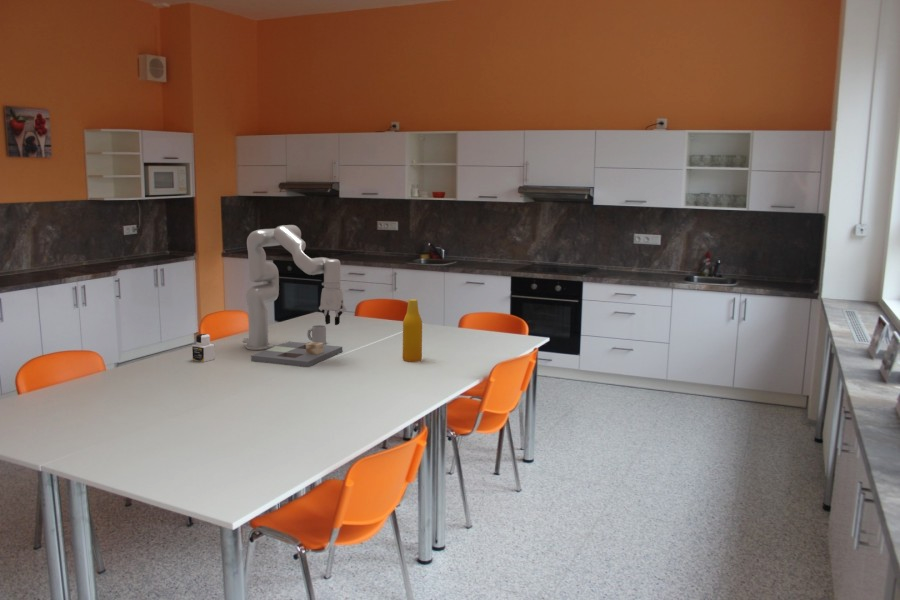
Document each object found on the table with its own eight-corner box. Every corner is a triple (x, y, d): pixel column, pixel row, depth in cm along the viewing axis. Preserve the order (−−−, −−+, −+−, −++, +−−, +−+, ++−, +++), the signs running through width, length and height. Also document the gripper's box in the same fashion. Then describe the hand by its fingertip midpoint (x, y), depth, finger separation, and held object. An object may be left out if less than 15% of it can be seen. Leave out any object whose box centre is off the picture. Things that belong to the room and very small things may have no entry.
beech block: (306, 353, 365) (305, 344, 364) (312, 350, 370) (312, 341, 370) (317, 354, 363) (317, 345, 362) (323, 352, 368) (323, 342, 368)
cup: (323, 345, 394) (322, 328, 393) (304, 344, 396) (304, 327, 395) (328, 342, 401) (328, 325, 400) (310, 341, 403) (310, 324, 402)
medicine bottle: (192, 360, 357) (191, 335, 355) (203, 357, 364) (203, 332, 362) (203, 362, 354) (202, 336, 352) (215, 359, 360) (214, 334, 358)
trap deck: (251, 360, 359) (251, 355, 358) (289, 346, 390) (289, 341, 390) (308, 367, 349) (308, 361, 349) (342, 351, 381) (342, 346, 380)
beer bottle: (417, 362, 361) (418, 302, 356) (399, 361, 364) (400, 300, 359) (424, 358, 370) (425, 299, 365) (406, 356, 373) (407, 297, 368)
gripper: (312, 285, 357) (312, 324, 360) (344, 287, 352) (344, 327, 355) (320, 283, 364) (320, 321, 367) (352, 285, 359) (352, 324, 362)
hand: (332, 323), depth 361 cm, fingers open, 4 cm apart
